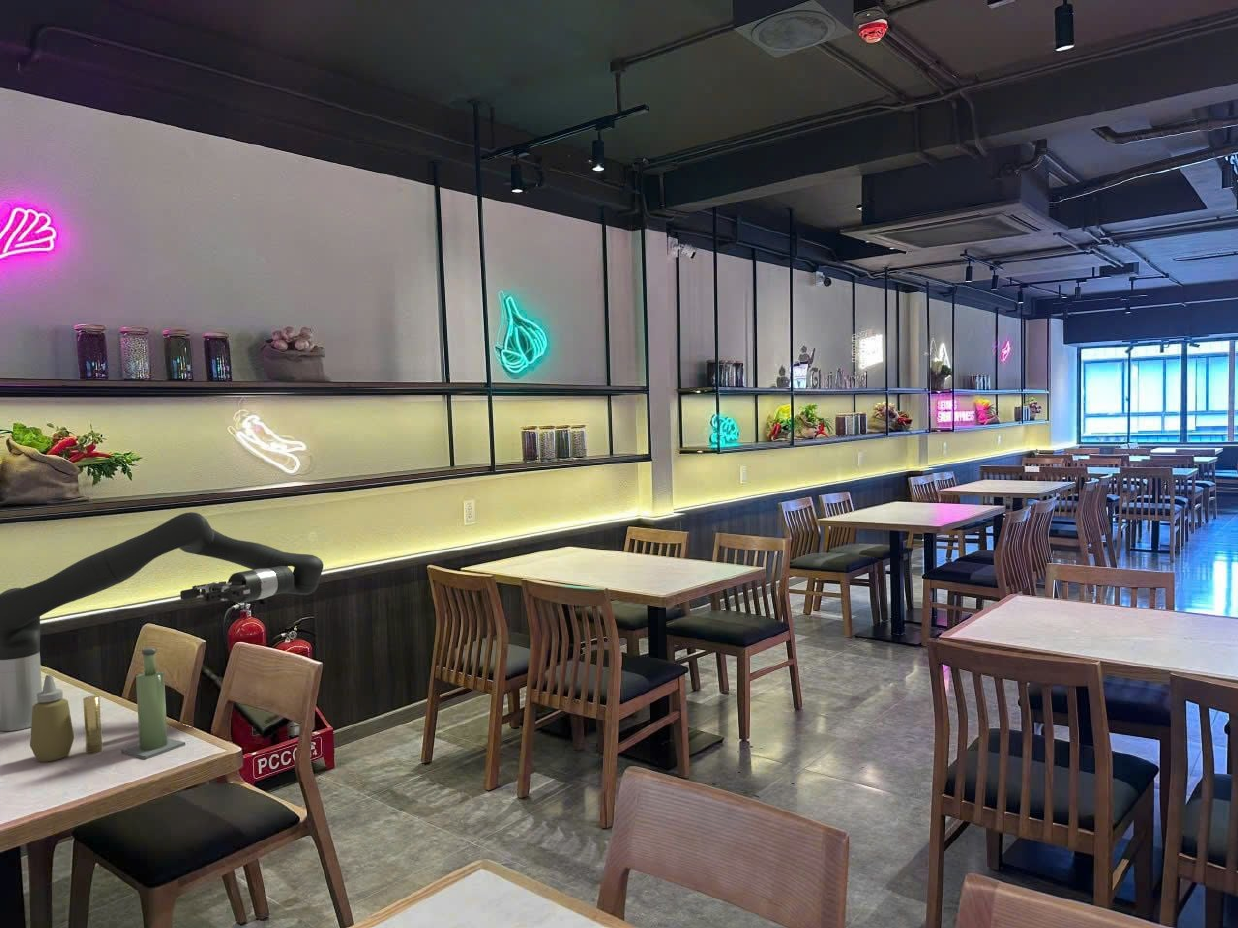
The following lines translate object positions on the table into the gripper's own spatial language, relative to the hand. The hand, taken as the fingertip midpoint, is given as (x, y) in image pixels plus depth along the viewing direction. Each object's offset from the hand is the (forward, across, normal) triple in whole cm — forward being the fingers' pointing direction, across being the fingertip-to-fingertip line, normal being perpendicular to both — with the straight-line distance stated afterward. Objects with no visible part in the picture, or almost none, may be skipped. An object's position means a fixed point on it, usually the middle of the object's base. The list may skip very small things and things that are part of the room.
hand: (192, 596), depth 194 cm
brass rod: (+17, -11, +32) cm, 38 cm away
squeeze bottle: (+23, -16, +32) cm, 43 cm away
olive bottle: (+11, 0, +31) cm, 33 cm away
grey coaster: (+11, 0, +32) cm, 34 cm away
